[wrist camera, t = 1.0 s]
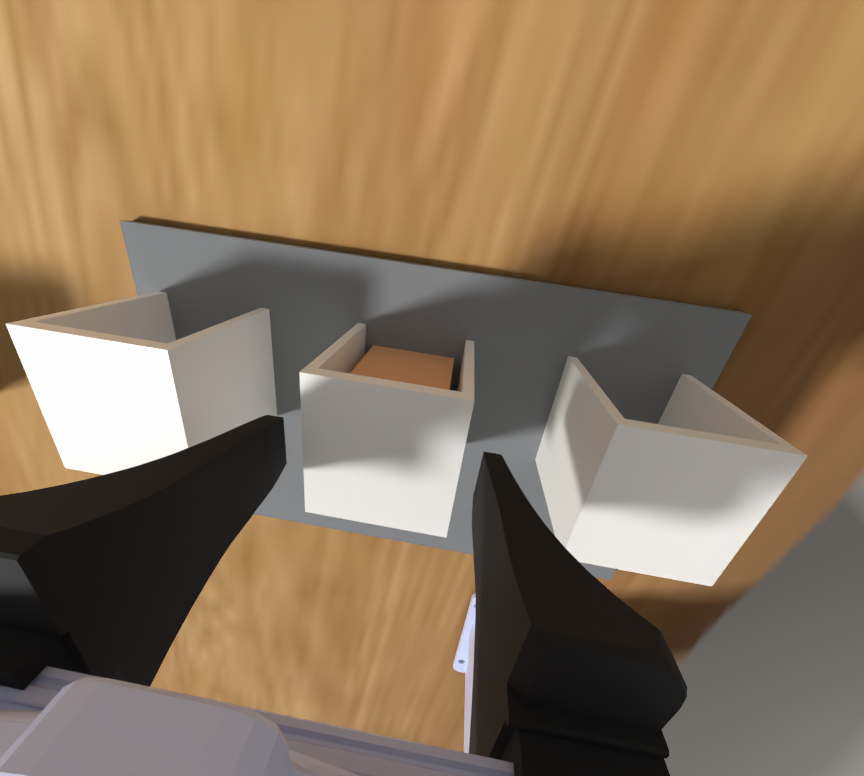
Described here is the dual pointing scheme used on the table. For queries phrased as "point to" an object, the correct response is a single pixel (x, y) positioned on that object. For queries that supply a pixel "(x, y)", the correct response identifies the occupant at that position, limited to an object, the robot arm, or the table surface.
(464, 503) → the mat
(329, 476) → the white u-channel shell
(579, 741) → the robot arm
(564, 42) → the table surface
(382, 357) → the cube
